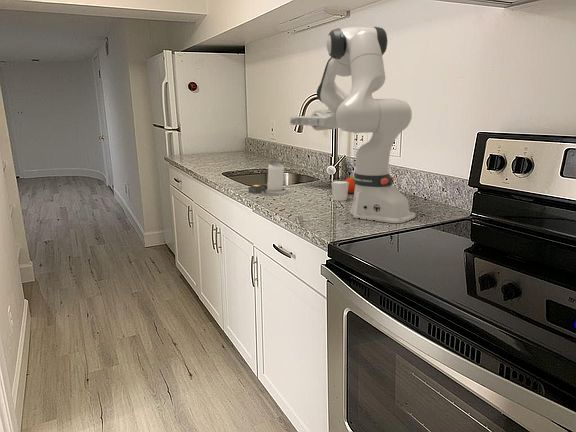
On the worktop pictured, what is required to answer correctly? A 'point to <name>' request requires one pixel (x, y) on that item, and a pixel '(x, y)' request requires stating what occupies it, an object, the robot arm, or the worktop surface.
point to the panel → (261, 191)
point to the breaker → (256, 186)
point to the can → (275, 176)
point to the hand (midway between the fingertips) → (299, 121)
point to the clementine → (350, 184)
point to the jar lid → (276, 192)
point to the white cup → (339, 190)
